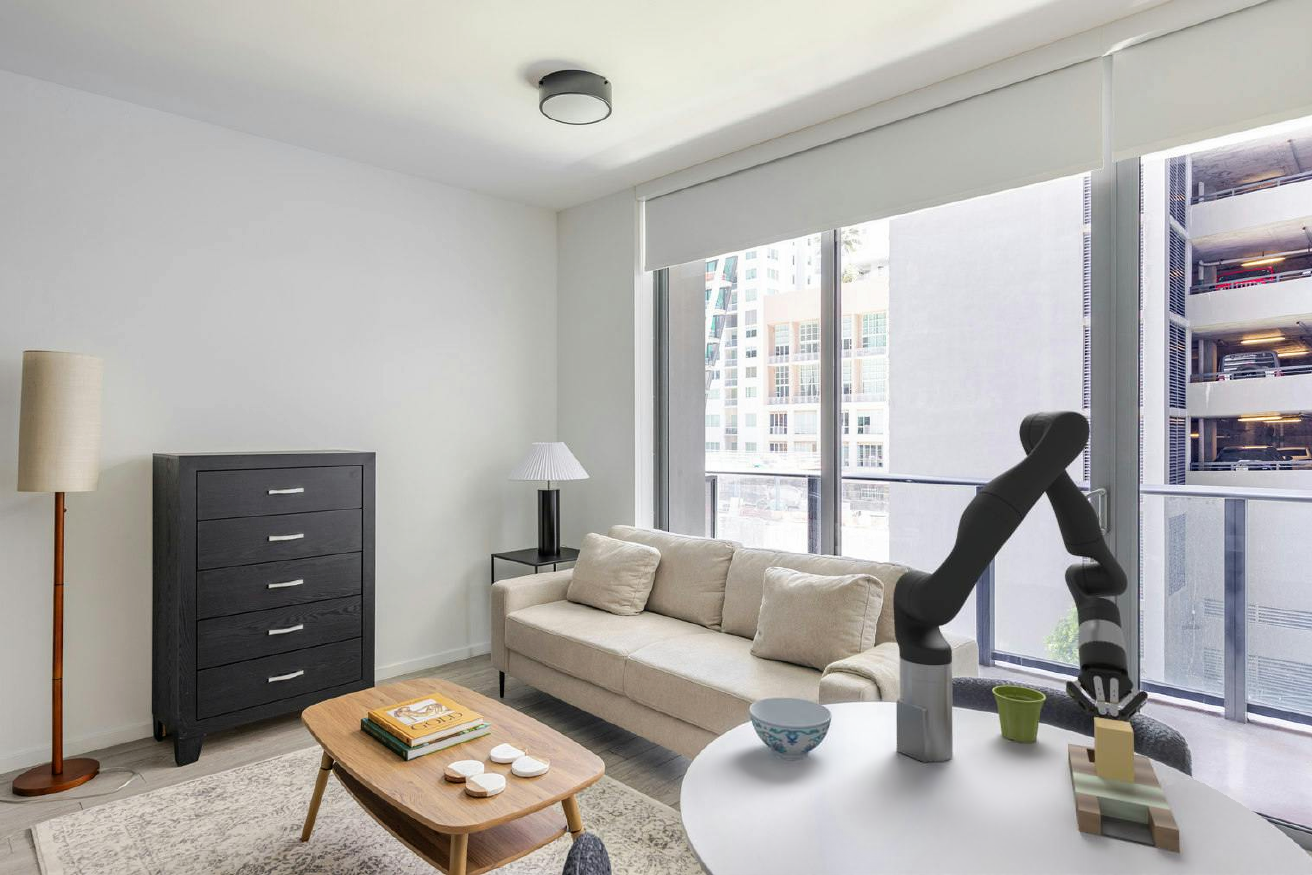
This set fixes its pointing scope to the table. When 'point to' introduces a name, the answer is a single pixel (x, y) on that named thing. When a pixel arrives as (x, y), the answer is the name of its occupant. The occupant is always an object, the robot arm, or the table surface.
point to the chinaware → (790, 725)
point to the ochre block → (1114, 749)
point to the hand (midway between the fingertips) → (1110, 739)
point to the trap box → (1121, 802)
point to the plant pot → (1019, 712)
